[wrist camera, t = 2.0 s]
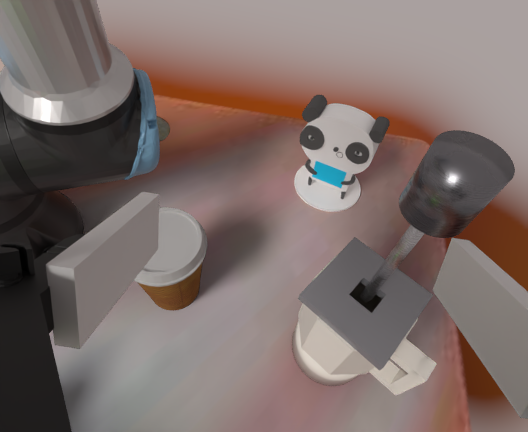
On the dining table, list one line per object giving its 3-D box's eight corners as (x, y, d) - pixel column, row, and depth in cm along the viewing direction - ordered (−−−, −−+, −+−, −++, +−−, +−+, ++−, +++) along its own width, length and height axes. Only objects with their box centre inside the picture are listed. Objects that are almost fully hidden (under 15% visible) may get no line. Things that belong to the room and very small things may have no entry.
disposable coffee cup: (144, 256, 49) (123, 203, 39) (212, 256, 49) (208, 204, 40) (132, 323, 43) (103, 280, 33) (209, 322, 44) (204, 279, 34)
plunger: (334, 296, 31) (418, 154, 17) (359, 268, 33) (452, 120, 19) (372, 328, 29) (497, 200, 16) (396, 297, 31) (525, 158, 18)
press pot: (276, 346, 43) (295, 294, 30) (321, 297, 47) (354, 234, 35) (362, 429, 38) (425, 408, 26) (402, 366, 42) (474, 322, 30)
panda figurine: (279, 192, 58) (292, 118, 46) (306, 152, 64) (323, 78, 52) (347, 222, 55) (380, 152, 43) (368, 177, 61) (401, 105, 49)
